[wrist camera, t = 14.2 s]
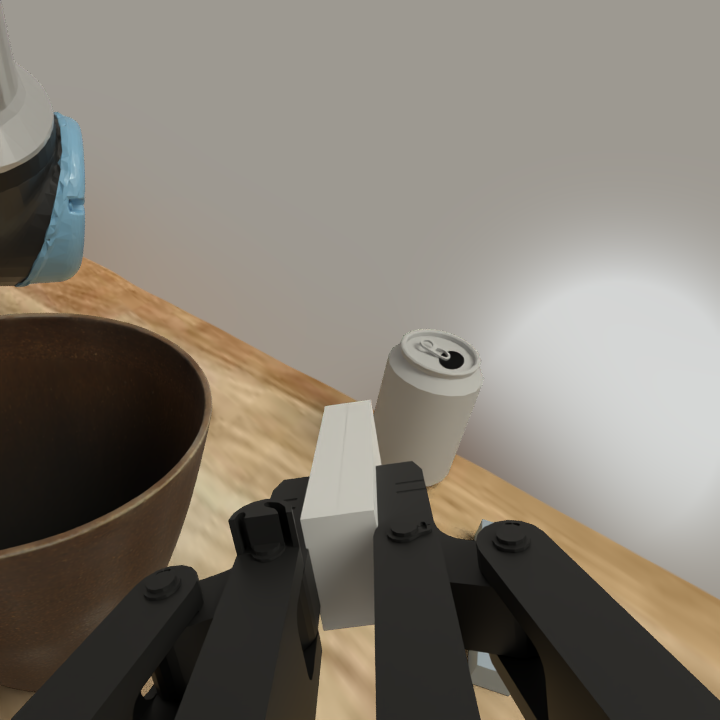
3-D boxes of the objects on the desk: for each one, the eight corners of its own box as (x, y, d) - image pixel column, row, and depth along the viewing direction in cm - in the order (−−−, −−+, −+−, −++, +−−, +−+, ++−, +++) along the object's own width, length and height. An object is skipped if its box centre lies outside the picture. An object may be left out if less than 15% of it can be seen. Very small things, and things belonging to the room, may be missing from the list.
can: (430, 509, 41) (474, 390, 35) (348, 467, 43) (376, 348, 37) (458, 456, 47) (500, 346, 41) (385, 421, 49) (414, 312, 43)
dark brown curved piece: (96, 481, 38) (69, 283, 29) (256, 594, 33) (280, 396, 24) (-165, 652, 26) (-338, 408, 18) (20, 867, 21) (-95, 673, 13)
